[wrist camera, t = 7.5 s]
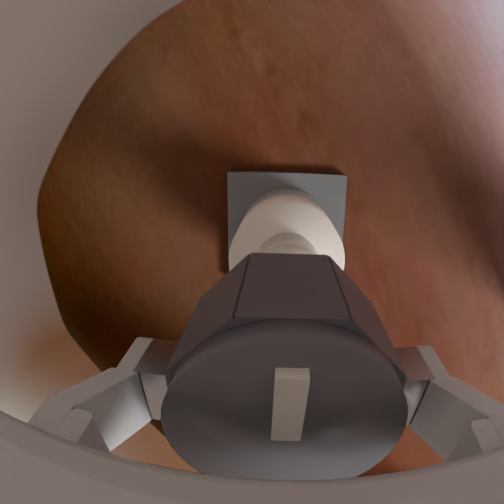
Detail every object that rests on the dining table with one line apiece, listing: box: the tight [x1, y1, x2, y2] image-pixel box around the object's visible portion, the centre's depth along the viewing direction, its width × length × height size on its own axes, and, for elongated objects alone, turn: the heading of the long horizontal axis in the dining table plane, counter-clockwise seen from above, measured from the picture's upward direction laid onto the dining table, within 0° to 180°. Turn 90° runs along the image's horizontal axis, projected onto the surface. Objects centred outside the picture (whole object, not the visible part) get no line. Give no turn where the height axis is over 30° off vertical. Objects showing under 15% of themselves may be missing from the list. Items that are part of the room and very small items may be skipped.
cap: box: [161, 252, 408, 480], centre depth 8 cm, size 6×6×5 cm
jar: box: [227, 171, 347, 271], centre depth 18 cm, size 8×8×10 cm
